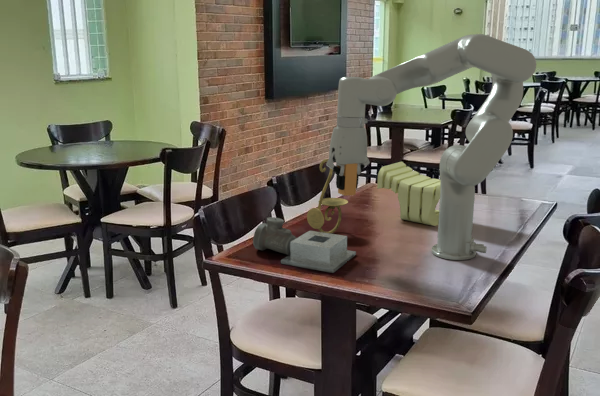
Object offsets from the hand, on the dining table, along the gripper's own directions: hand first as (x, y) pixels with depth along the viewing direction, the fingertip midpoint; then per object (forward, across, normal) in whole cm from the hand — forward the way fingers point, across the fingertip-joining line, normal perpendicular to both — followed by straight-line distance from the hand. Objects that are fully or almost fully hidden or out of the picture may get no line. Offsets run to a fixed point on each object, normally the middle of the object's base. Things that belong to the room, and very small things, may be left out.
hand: (346, 187), depth 163 cm
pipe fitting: (+21, +16, -12) cm, 29 cm away
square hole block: (+20, +8, -1) cm, 22 cm away
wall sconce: (+21, -6, -19) cm, 29 cm away
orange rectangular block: (+2, 0, 0) cm, 2 cm away
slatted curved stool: (+19, -45, -19) cm, 52 cm away
